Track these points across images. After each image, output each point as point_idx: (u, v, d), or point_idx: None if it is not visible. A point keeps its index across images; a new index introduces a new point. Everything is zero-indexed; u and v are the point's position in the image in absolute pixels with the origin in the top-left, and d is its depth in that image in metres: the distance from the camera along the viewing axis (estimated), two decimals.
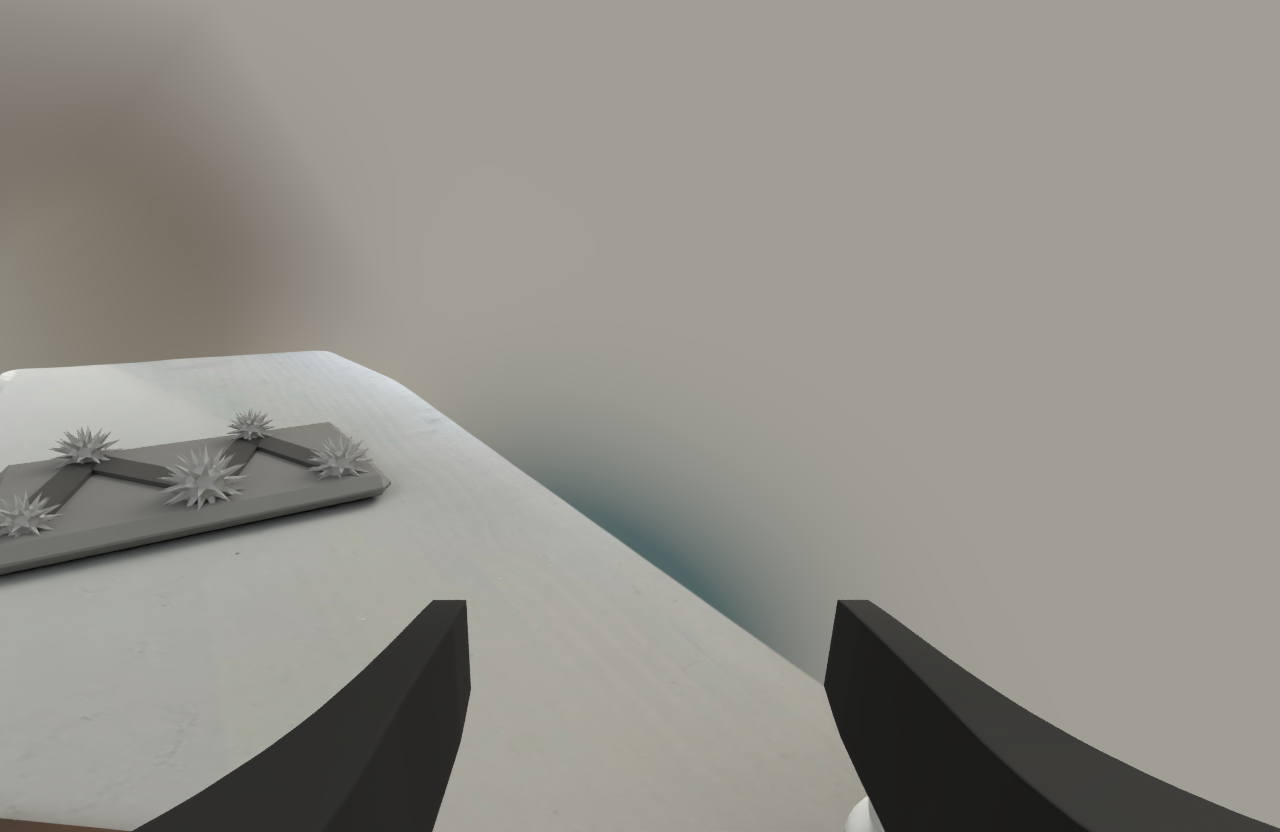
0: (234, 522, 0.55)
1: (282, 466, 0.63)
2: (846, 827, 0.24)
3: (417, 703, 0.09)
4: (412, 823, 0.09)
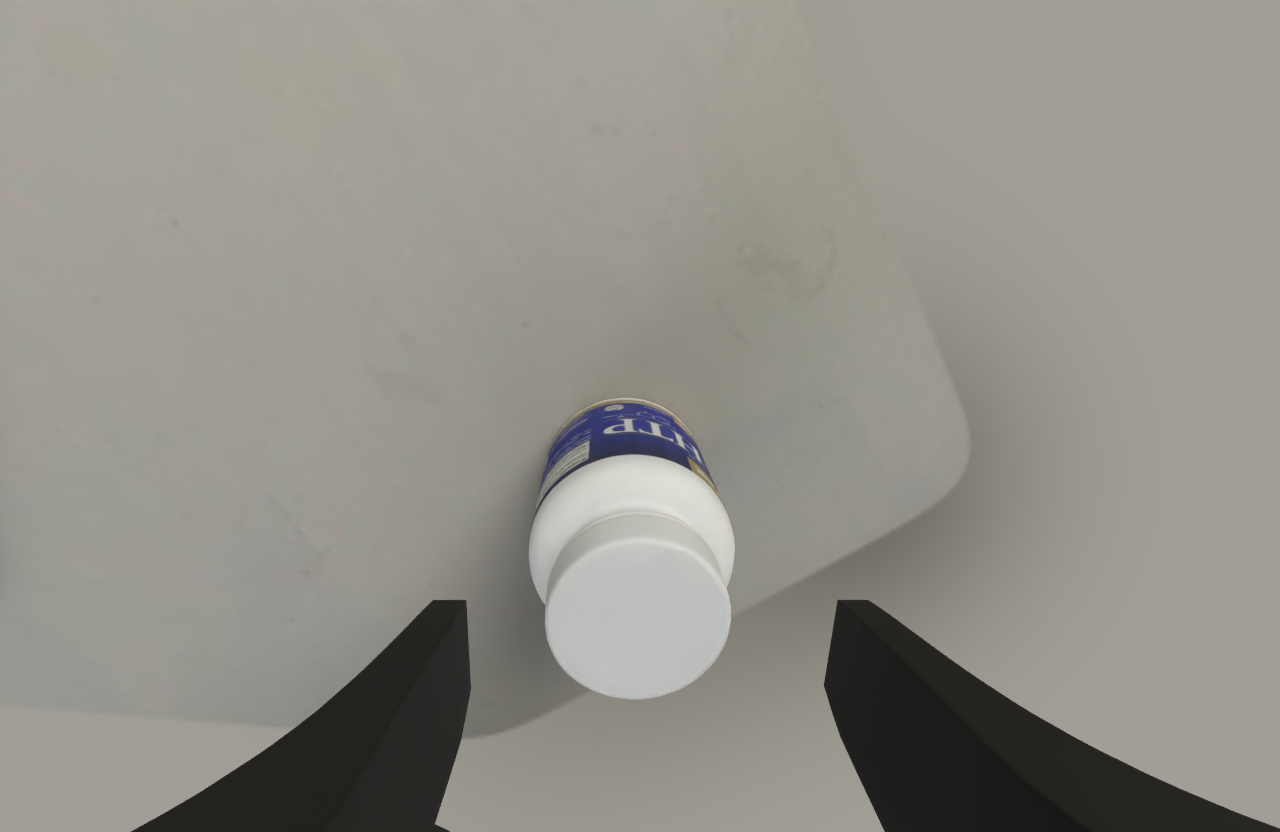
0: None
1: None
2: (539, 517, 0.15)
3: (417, 703, 0.09)
4: (412, 823, 0.09)
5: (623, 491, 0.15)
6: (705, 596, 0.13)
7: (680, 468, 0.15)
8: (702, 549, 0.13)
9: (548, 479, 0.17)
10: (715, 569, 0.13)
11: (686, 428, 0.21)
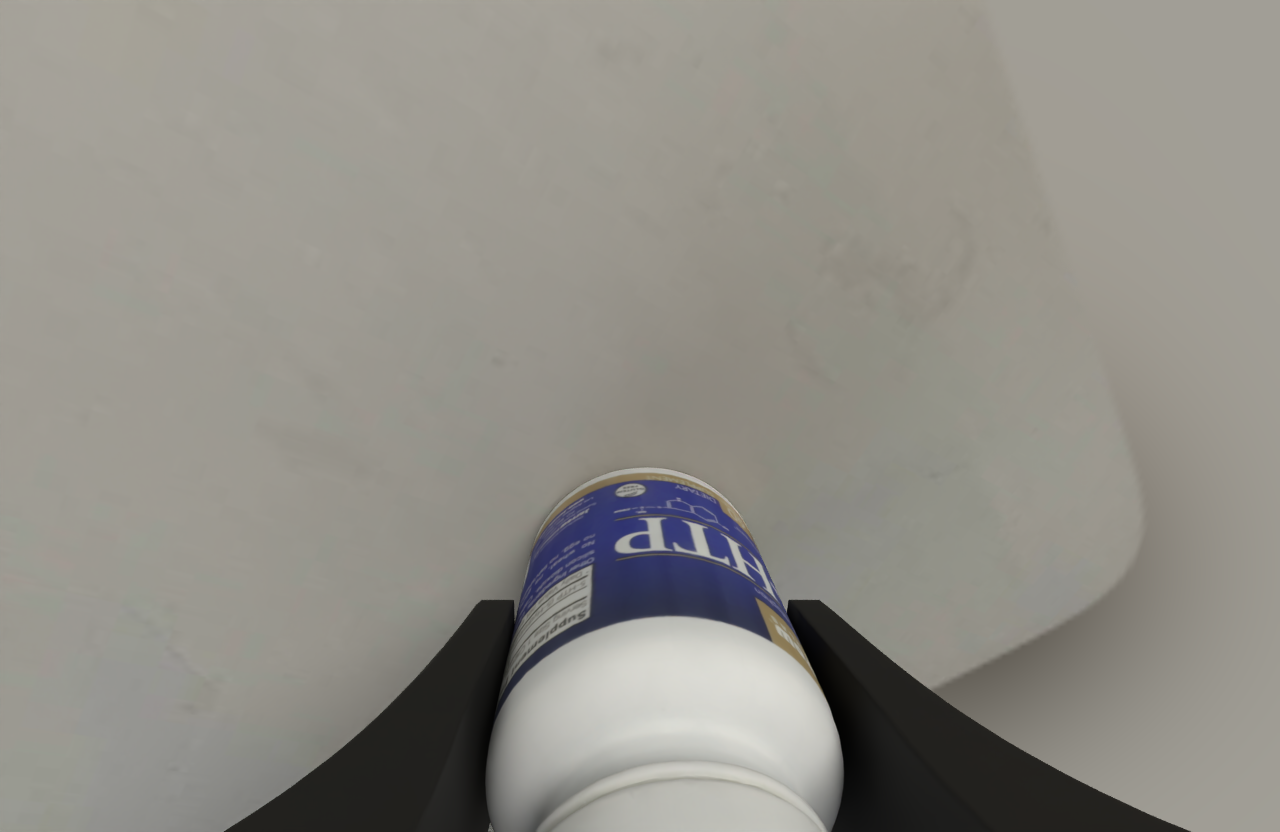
0: None
1: None
2: (502, 731, 0.09)
3: (479, 703, 0.09)
4: (474, 822, 0.09)
5: (654, 701, 0.08)
6: None
7: (754, 642, 0.09)
8: None
9: (523, 633, 0.10)
10: None
11: (737, 514, 0.14)
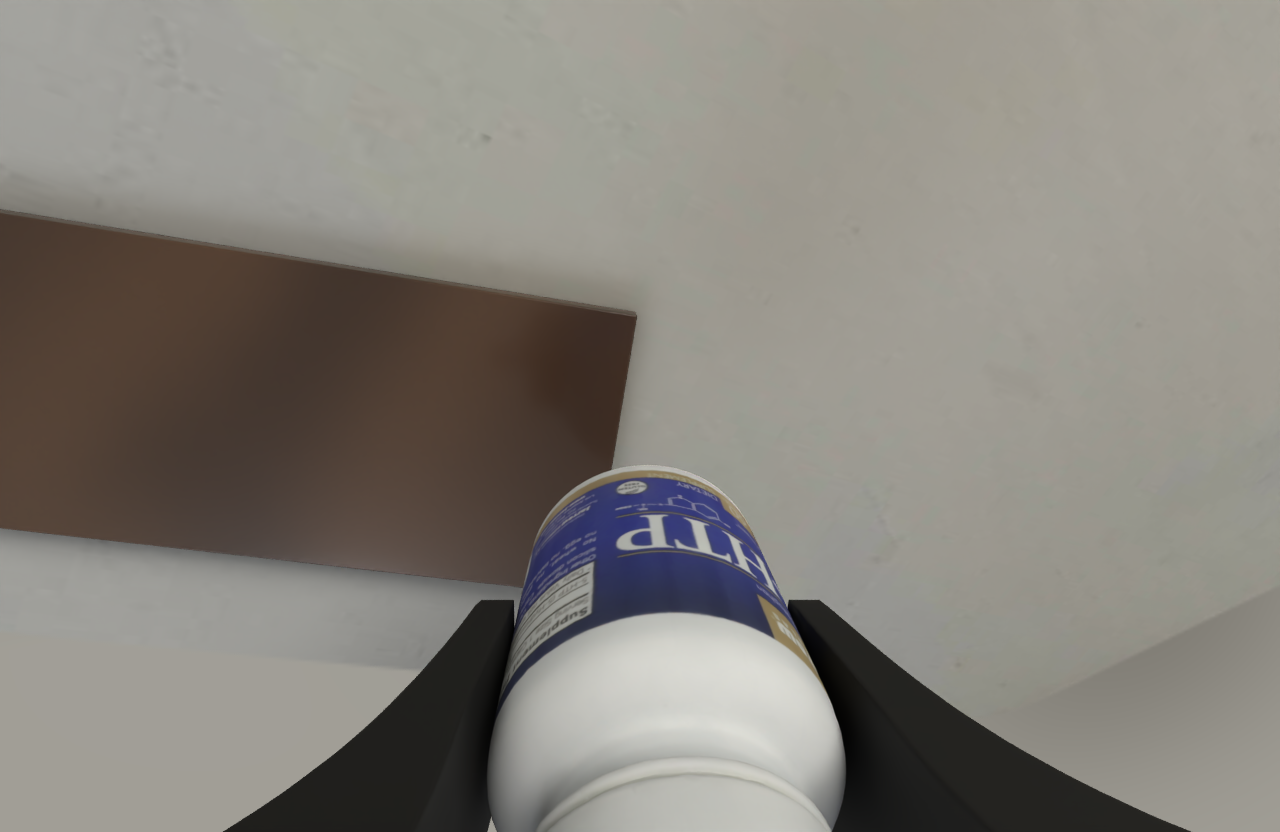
0: None
1: None
2: (504, 727, 0.09)
3: (478, 703, 0.09)
4: (473, 822, 0.09)
5: (656, 698, 0.08)
6: None
7: (755, 638, 0.09)
8: None
9: (524, 630, 0.10)
10: None
11: (738, 512, 0.14)
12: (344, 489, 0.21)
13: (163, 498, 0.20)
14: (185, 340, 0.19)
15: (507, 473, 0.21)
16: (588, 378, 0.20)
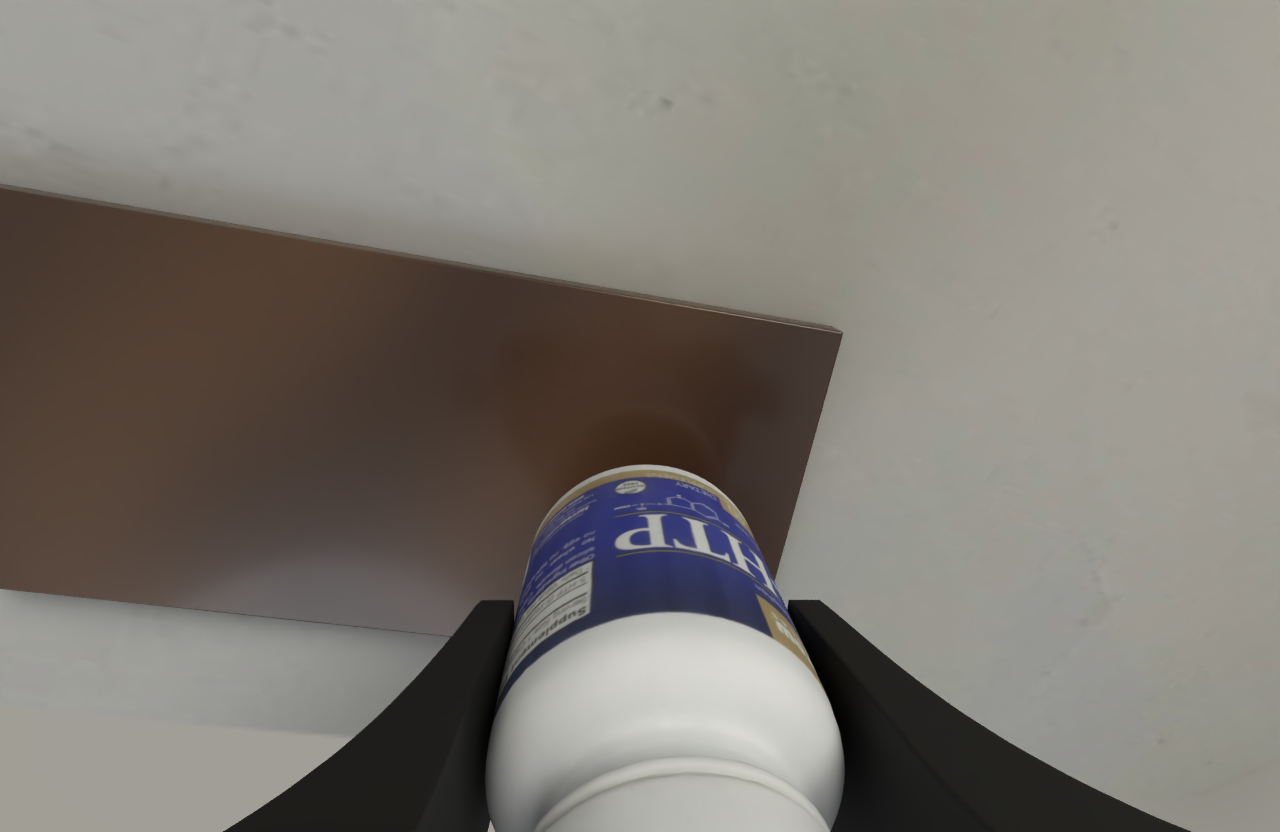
0: None
1: None
2: (502, 727, 0.09)
3: (479, 703, 0.09)
4: (473, 821, 0.09)
5: (654, 697, 0.08)
6: None
7: (754, 637, 0.09)
8: None
9: (523, 629, 0.10)
10: None
11: (737, 511, 0.14)
12: (462, 545, 0.16)
13: (238, 555, 0.16)
14: (274, 361, 0.15)
15: None
16: (776, 410, 0.16)
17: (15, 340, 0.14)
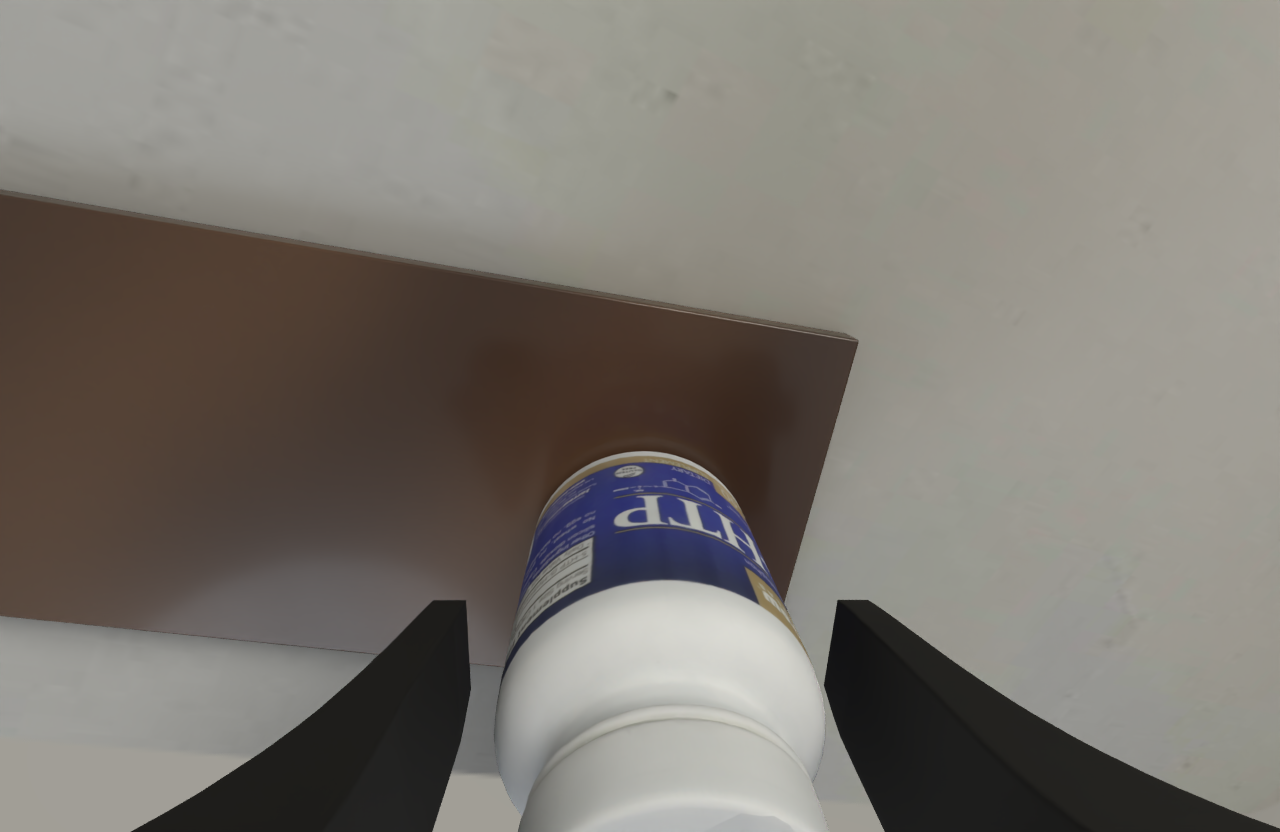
0: None
1: None
2: (510, 685, 0.09)
3: (417, 704, 0.09)
4: (412, 823, 0.09)
5: (649, 655, 0.09)
6: None
7: (741, 604, 0.09)
8: (797, 792, 0.07)
9: (528, 600, 0.11)
10: None
11: (730, 495, 0.15)
12: (454, 565, 0.16)
13: (216, 576, 0.15)
14: (252, 372, 0.14)
15: None
16: (787, 423, 0.15)
17: None
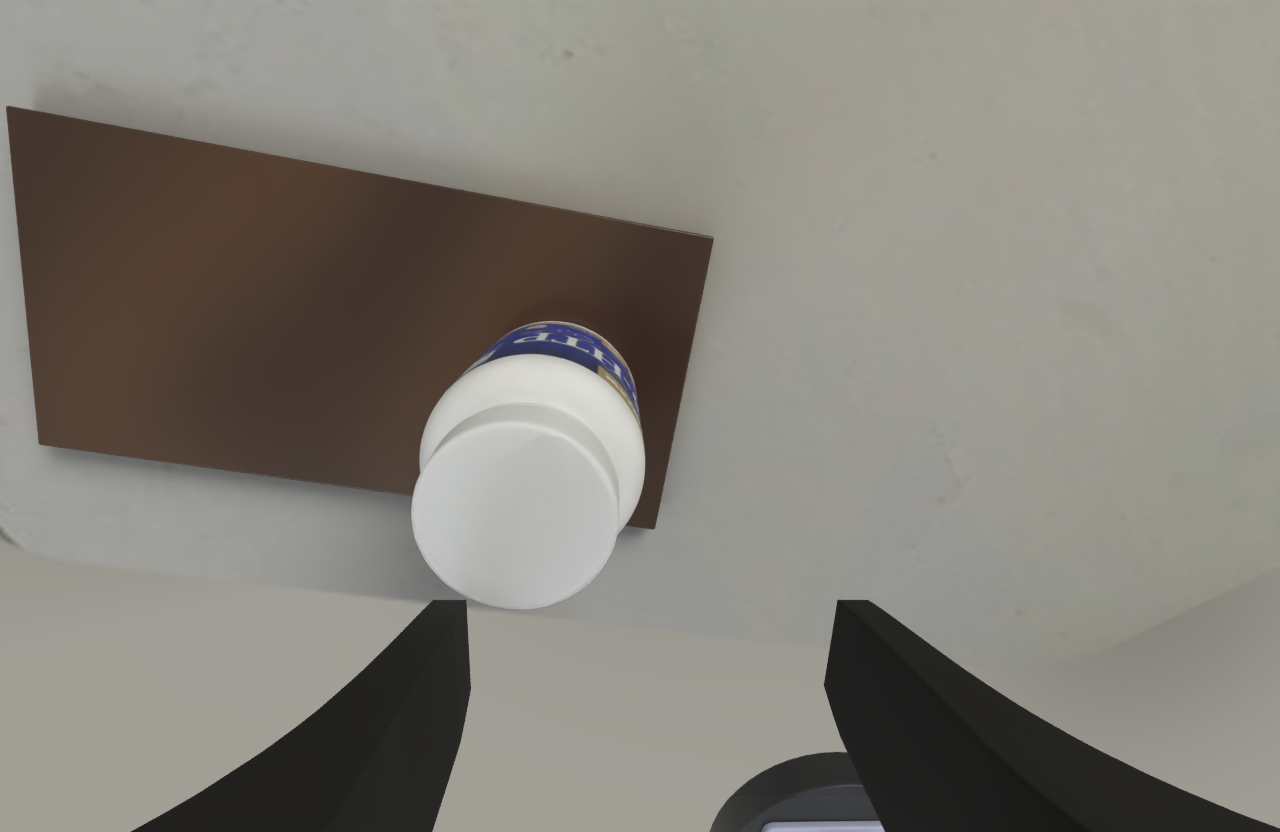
0: None
1: None
2: (428, 420, 0.14)
3: (417, 703, 0.09)
4: (412, 823, 0.09)
5: (513, 388, 0.13)
6: (587, 491, 0.12)
7: (582, 368, 0.14)
8: (587, 441, 0.12)
9: None
10: (598, 461, 0.12)
11: (618, 353, 0.19)
12: (413, 414, 0.20)
13: (233, 420, 0.20)
14: (263, 256, 0.19)
15: None
16: (663, 302, 0.20)
17: (62, 236, 0.18)
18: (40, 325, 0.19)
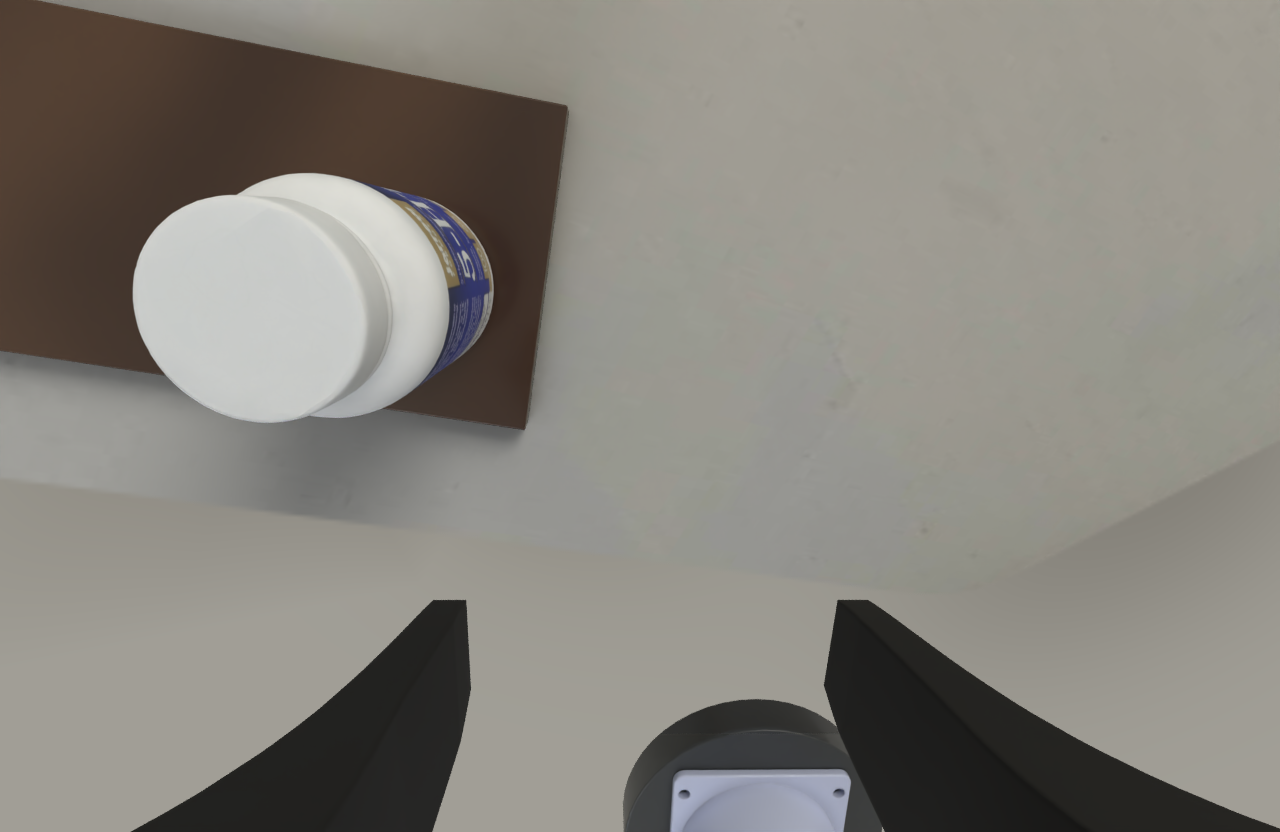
0: None
1: None
2: None
3: (418, 703, 0.09)
4: (412, 823, 0.09)
5: (281, 197, 0.12)
6: (326, 278, 0.11)
7: (368, 188, 0.13)
8: (331, 228, 0.11)
9: None
10: (338, 246, 0.11)
11: (466, 227, 0.18)
12: None
13: (69, 304, 0.19)
14: (91, 123, 0.18)
15: None
16: (517, 176, 0.19)
17: None
18: None
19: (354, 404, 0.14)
